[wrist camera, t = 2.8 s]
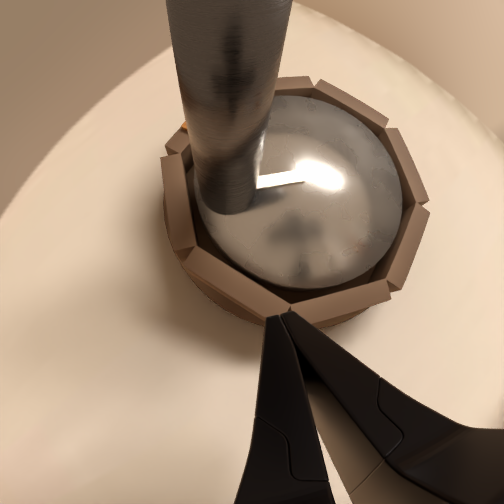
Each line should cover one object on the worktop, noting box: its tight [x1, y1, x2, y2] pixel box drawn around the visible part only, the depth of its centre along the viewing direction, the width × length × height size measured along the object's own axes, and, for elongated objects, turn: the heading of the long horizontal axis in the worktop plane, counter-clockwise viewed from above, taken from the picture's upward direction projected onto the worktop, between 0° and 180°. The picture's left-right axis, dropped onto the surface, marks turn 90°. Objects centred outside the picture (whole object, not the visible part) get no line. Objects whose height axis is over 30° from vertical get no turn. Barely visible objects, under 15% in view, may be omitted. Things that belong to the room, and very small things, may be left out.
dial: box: [166, 0, 402, 292], centre depth 12 cm, size 13×13×14 cm
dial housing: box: [160, 76, 430, 329], centre depth 18 cm, size 17×17×4 cm
